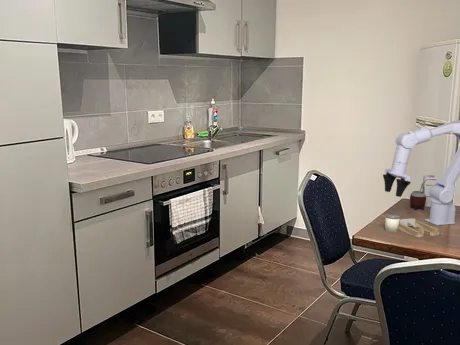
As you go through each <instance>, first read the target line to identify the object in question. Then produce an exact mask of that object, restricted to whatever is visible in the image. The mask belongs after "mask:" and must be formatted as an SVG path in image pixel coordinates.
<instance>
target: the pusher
mask: <svg viewBox="0 0 460 345" xmlns="http://www.w3.org/2000/svg"><path fill="white" fill-rule="evenodd" d="M415 220H416V218H404V219H399V223H401V224H403V225H405V226H408V227H413V228H416V229H418V227H417V226H415Z"/></svg>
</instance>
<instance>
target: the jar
mask: <svg viewBox="0 0 460 345" xmlns="http://www.w3.org/2000/svg"><path fill="white" fill-rule="evenodd" d="M400 219H401V215H400V214H398V213H394V212H393V213H391V212H390V213H386V214H385V222H384V230H385V231H386V232H389V233H390V232H391V233H397V232H399V231H400V230H399V220H400Z"/></svg>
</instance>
